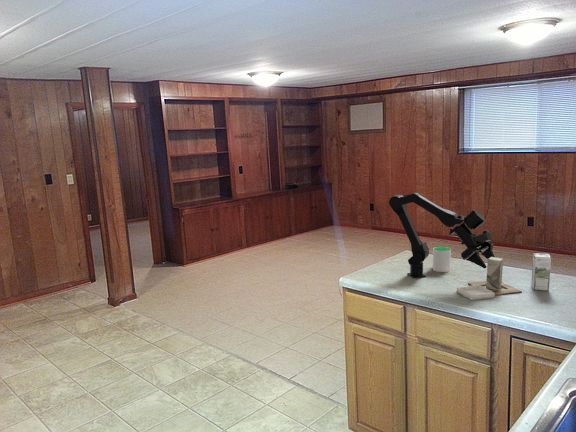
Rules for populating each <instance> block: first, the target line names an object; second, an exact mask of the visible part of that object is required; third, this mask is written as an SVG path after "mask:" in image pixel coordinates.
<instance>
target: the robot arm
mask: <svg viewBox="0 0 576 432" xmlns="http://www.w3.org/2000/svg"><path fill="white" fill-rule="evenodd" d="M410 203H414V204H416V205H417V206H419V207H420V208H422V209H424V210H426V211H427V212H429V213H431V214H432V215H434V216H435V217H436V218H437V219H438V220H439V221H440V222H441V223H442V224H443V225H444V226H445V227H447V228H449V233H448V234H449V235H454V234H455V235H456V237H458V239H459V240H460V241H461V243H460V244H461V245H462V246H463V245H464V246H465V247H466V249H465V250H463V251H462V252H461V253H460V254H461V255H460V256H461V257H460V258H462V259H463V260H466V261H467V262H469V263H470V262H471V263H472V264H475V265H477V266H479V267H480V268H483V269H486V268H487V264H486V263H485V262H484V260H483V259H482V257H481V256H483V257H484V258H486V259H487V260H488V259H489V258H490V257H496V256H495V254H494V252H493V248H494V242H493V241H492V240H493V237H492V235H493V233H492V232H491V231H489V229H486V230H483V231H482V233H481V234H477V233H474V232H472V230H476V229H477V228H478V227H480V226H482V225H483V224H484V223H485V222H486V218H485V217H484V216H483V215H482V214H481V213H480V212H478V211H476V210H475V209H473V210H471V211H470V213H469V214H467V215H465V216H463V215H459V214H458V213H456V212H454V211H453V210H449V209H446V208H443V207H441V206H439V205H438V204H436V203H434V202H432V201H431V200H429V199H428V198H426V197H424V196H422V195H421V194H420V193H419V192H413V193H411V194H410V193H409V194H405V195H402V194H395V195H393V196H392V197H390V198H389V200H388V204H389V205H388V206H389V207H390V208H391V210H392V211H393V212H394V213H395V214H396V215H397V216H398V219H399V221H400V222H401V225H402V229H403V230H404V232H405V234H406V236H407V238H408V241H409V243H410V249H411V254H412V256H411V257H410V258H408V260H407V262H408V264H409V266H410V267H409V272H407V273H406V274H407V275H408V276H409V277H411V278H412V279H415V278H417V279H418V278H425V277H426V276H427V275H426V274H424V263H423V262H425V260H426V259H427V258H428V257H429V255H430V247H428V243H427V242H426V241H424V242H423V241H422V240H421V239H420V237H419V235H418V232H417V230H416V228H415V226H414V224H413V221H412V219H411V217H410V214H409V213H408V206H407V204H410ZM480 255H481V256H480Z"/></svg>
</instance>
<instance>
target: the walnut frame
mask: <svg viewBox="0 0 576 432" xmlns="http://www.w3.org/2000/svg"><path fill="white" fill-rule="evenodd" d="M467 285H468V286H474V285H480V286H482V287H484V288H486V280H482V281H471V282H467ZM501 288H503V289H499V290H492V289H488V288H486V289H488V290H490V291H492V292H494V293H495V294H494V297H495V296H504V295H513V294H520V293H523V291H522V290H521V289H518V288H516V287H514V286H511V285H510V284H507V283H505V282H503V281H502V285H501Z"/></svg>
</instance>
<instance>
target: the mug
mask: <svg viewBox="0 0 576 432" xmlns="http://www.w3.org/2000/svg"><path fill="white" fill-rule="evenodd" d="M451 250H452V249H451V247H446V246H435V247H433V248H432V271H434V272H438V273H448V272H451V263H452V262H451V259H452V251H451Z"/></svg>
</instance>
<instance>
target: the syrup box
mask: <svg viewBox="0 0 576 432" xmlns="http://www.w3.org/2000/svg"><path fill="white" fill-rule="evenodd" d="M551 266H552V257H551V254H549V253H535V252H534V253H532V268H531V283H530V284H531V285H530V286H531V288H532V289H533V290H534V291H545V292H550V280H551Z"/></svg>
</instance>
